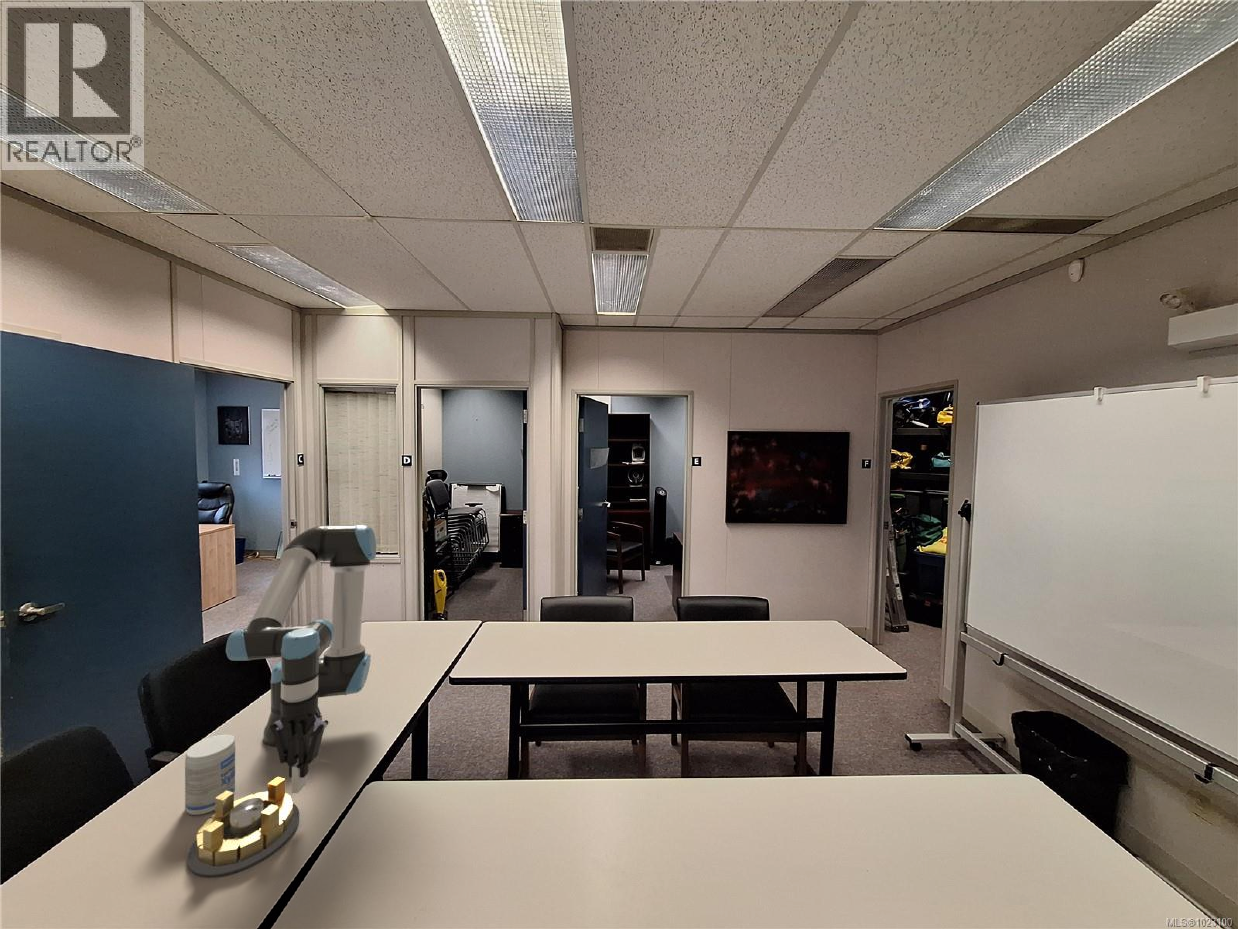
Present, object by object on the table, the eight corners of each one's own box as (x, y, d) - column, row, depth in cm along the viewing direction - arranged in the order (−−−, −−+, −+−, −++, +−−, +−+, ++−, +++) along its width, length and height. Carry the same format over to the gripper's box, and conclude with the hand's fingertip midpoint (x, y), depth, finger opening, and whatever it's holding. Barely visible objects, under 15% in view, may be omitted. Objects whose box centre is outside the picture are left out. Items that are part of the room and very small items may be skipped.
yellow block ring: (256, 796, 116) (256, 769, 116) (309, 812, 112) (309, 784, 112) (177, 853, 100) (176, 822, 100) (235, 874, 95) (235, 842, 95)
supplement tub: (232, 807, 114) (232, 750, 114) (180, 823, 109) (180, 763, 108) (237, 782, 122) (238, 729, 122) (189, 796, 117) (190, 740, 116)
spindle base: (257, 795, 118) (258, 769, 118) (319, 814, 113) (319, 787, 113) (163, 862, 99) (163, 831, 99) (232, 889, 94) (232, 856, 93)
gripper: (336, 687, 115) (334, 778, 116) (283, 686, 115) (282, 777, 116) (317, 704, 108) (315, 801, 109) (261, 702, 108) (259, 800, 108)
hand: (298, 789), depth 112 cm, fingers closed
